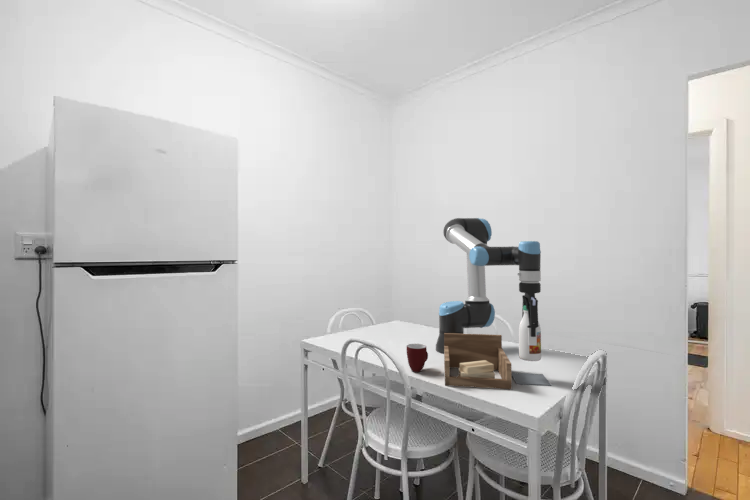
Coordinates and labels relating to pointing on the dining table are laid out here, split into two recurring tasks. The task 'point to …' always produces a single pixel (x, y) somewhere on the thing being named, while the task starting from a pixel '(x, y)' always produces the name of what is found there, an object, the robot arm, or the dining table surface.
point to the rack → (476, 359)
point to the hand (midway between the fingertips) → (529, 342)
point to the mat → (530, 379)
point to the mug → (417, 356)
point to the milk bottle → (527, 350)
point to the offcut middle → (478, 374)
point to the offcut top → (476, 367)
